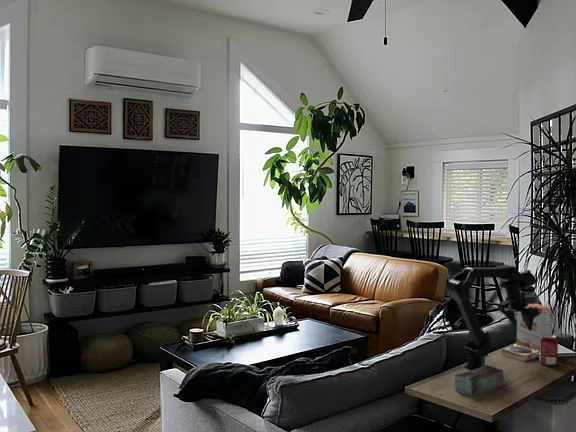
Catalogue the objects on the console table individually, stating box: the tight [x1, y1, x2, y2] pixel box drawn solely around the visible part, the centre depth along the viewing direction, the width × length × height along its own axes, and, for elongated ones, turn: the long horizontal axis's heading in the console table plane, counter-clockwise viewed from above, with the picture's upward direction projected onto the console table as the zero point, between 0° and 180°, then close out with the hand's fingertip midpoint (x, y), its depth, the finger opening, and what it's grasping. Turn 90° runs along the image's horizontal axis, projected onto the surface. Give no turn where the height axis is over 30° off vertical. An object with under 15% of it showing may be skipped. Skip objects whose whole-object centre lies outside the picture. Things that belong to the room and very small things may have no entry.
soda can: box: [538, 333, 559, 367], centre depth 235 cm, size 7×7×12 cm
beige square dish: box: [501, 344, 540, 362], centre depth 246 cm, size 11×11×3 cm
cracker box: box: [516, 302, 552, 351], centre depth 254 cm, size 14×6×21 cm, turn 23°
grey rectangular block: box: [454, 364, 504, 396], centre depth 209 cm, size 8×19×7 cm, turn 124°
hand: (522, 327), depth 236 cm, fingers open, 9 cm apart
